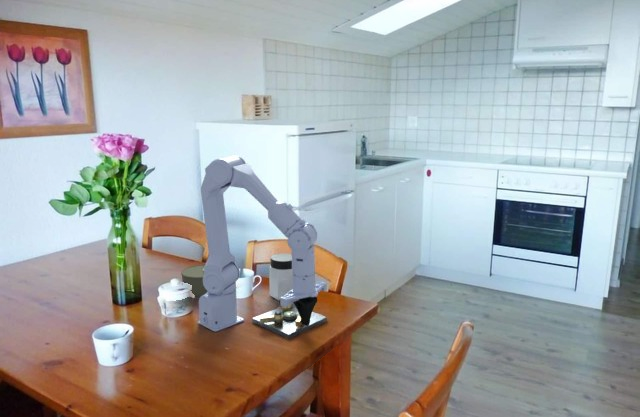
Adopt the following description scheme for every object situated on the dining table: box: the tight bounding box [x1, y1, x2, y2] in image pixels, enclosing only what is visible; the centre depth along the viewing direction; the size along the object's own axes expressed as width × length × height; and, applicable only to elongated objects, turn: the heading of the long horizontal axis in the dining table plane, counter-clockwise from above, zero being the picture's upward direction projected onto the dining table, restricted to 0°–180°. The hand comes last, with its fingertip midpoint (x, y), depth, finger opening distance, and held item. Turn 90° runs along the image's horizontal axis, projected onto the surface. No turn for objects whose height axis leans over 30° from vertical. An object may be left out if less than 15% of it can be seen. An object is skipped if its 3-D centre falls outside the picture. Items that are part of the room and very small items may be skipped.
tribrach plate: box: [251, 303, 328, 340], centre depth 135 cm, size 14×14×3 cm
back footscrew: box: [281, 303, 294, 312], centre depth 141 cm, size 6×2×2 cm, turn 167°
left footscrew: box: [260, 311, 283, 324], centre depth 132 cm, size 6×2×2 cm, turn 107°
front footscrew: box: [295, 316, 301, 327], centre depth 132 cm, size 7×2×2 cm, turn 164°
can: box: [180, 264, 208, 300], centre depth 156 cm, size 12×12×7 cm
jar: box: [268, 253, 293, 301], centre depth 153 cm, size 9×8×12 cm
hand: (305, 324), depth 129 cm, fingers closed, pressing on front footscrew
